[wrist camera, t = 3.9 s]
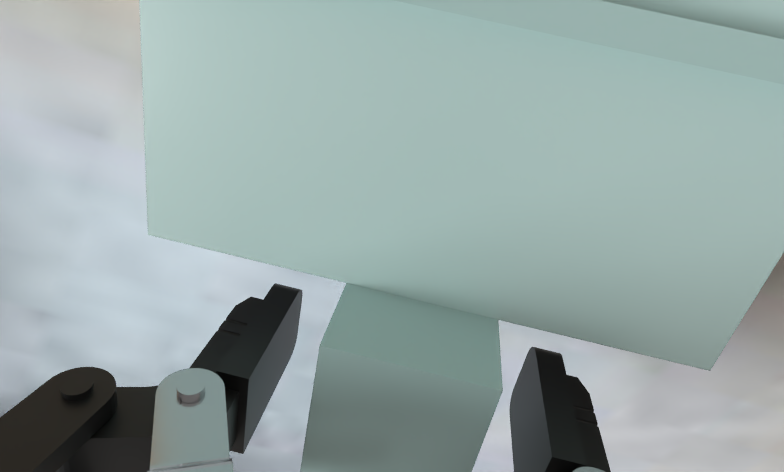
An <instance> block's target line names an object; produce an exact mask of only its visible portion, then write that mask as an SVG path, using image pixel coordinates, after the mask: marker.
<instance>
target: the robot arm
mask: <svg viewBox="0 0 784 472" xmlns="http://www.w3.org/2000/svg"><path fill="white" fill-rule="evenodd" d="M301 302H302V290H300V289H296V288H292V287H288V286H284V285H280V284H274V285H273V286H272V288H271V289H270V291H269V292H268V294H267V295H266V297H265V298H264V300H262V299H258V298H254V297H250V298H248V299H246V300H245V301H243V302H241V303H240V304H238V305H236V306H235V307H234V309H233V310H232V311H231V313H230V314H229V315H228V317H227V318H226V321H224V322H223V323H222V325H221V326H220V327H219V330H218V331H217V332H216V333H215V334H214V336H213V337H212V338H211V340H210V341H209V342H208V344H207V345H206V346H205V348H204V349H203V350H202V352H201V353H200V354H199V356H198V357H197V359H196V360H195V361H194V363H193V364H192V365H191V367H190V368H189V369H183V370H180V371H177V372H174V373H172V374H171V375H169V376H168V377H166V378H165V379H164V380H163V381H162V382H161V383H160V384H159V386H152V387H116V381H115V379H114V377H113V376H112V375H111V374H110V373H109V372H108V371H105V370H103V369H100V368H95V367H80V368H74V369H70V370H67V371H64V372H62V373H60V374H58V375H56V376H54V377H52V378H51V379H50V380H48V381H47V382H46V383H44V384H43V385H42V386H40V387H39V388H38V389H37V390H35V391H34V392H33V393H31V394H30V395H29V396H28V397H26V398H25V399H24V400H22V401H21V402H20V403H19V404H17V405H16V406H15V407H13V408H12V409H11V410H10V411H8V412H7V413H6V414H4V415H3V416H2V417H1V418H0V472H233V463H232V458H231V459H230V456H229V452H230V451H234V452H238V453H242V454H243V453H244V451H245V449H246V447H247V445H248V443H249V441H250V439H251V437H252V435H253V433H254V431H255V429H256V427H257V425H258V423H259V421H260V419H261V417H262V415H263V413H264V411H265V408H266V406H267V404H268V402H269V400H270V398H271V396H272V394H273V392H274V390H275V388H276V386H277V384H278V382H279V380H280V378H281V376H282V374H283V372H284V370H285V368H286V366H287V364H288V362H289V360H290V358H291V355H292V353H293V350H294V347H295V343H296V339H297V333H298V325H299V318H300V310H301ZM593 411H594V409H593V405H592V401H591V398H590V394H589V393H588V391H587V390H586V388H585V387H584V386H583V384H582V383H581V382H580V380H579V379H578V378H577V377H573V376H569V375H566V371H565V367H564V362H563V358H562V355H561V354H560V353H556V352H552V351H548V350H544V349H540V348H535V347H531V348H530V350H529V352H528V354H527V356H526V359H525V362H524V364H523V367H522V369H521V372H520V374H519V377H518V379H517V382H516V384H515V387H514V389H513V392H512V396H511V402H510V424H511V437H512V450H513V463H514V472H611V471H610V468H609V464H608V460H607V457H606V453H605V449H604V446H603V442H602V438H601V435H600V431H599V427H597V420H596V416H595V413H593Z"/></svg>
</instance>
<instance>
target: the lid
mask: <svg viewBox="0 0 784 472" xmlns="http://www.w3.org/2000/svg"><path fill="white" fill-rule="evenodd" d="M139 3H140V31H141V58H142V85H143V113H144V140H145V167H146V194H147V222H148V235H151V236H155V237H159V238H163V239H167V240H171V241H176V242H180V243H184V244H188V245H192V246H196V247H200V248H205V249H209V250H213V251H217V252H221V253H225V254H229V255H233V256H238V257H242V258H246V259H250V260H254V261H258V262H262V263H266V264H271V265H275V266H279V267H283V268H287V269H291V270H295V271H300V272H304V273H308V274H312V275H316V276H320V277H324V278H328V279H333V280H337V281H341V282H345V283H346V286H345V288H344V290H343V293H342V295H341V297H340V300H339V302H338V304H337V307H336V309H335V311H334V313H333V316H332V318H331V320H330V323H329V325H328V327H327V330H326V332H325V334H324V337H323V339H322V341H321V344H320V347H319V354H318V360H317V367H316V373H315V379H314V386H313V392H312V399H311V405H310V411H309V418H308V424H307V431H306V437H305V444H304V450H303V456H302V463H301V469H300V472H472V469H473V466H474V464H475V461H476V459H477V456H478V453H479V451H480V448H481V446H482V443H483V440H484V438H485V435H486V433H487V430H488V427H489V425H490V422H491V420H492V417H493V415H494V412H495V409H496V407H497V404H498V402H499V399H500V396H501V394H502V391H503V388H502V372H501V356H500V340H499V324H498V320H502V321H506V322H510V323H514V324H519V325H523V326H527V327H531V328H535V329H539V330H543V331H547V332H552V333H556V334H560V335H564V336H568V337H572V338H576V339H581V340H585V341H589V342H593V343H597V344H601V345H605V346H609V347H614V348H618V349H622V350H626V351H630V352H634V353H638V354H642V355H647V356H651V357H655V358H659V359H663V360H667V361H671V362H676V363H680V364H684V365H688V366H692V367H696V368H700V369H704V370H709V371H710V370H711V368H712V367H713V365H714V364H715V362H716V360H717V359H718V357H719V355H720V354H721V352H722V351H723V349H724V347H725V346H726V344H727V343H728V341H729V339H730V338H731V336H732V335H733V333H734V331H735V330H736V328H737V327H738V325H739V323H740V322H741V320H742V319H743V317H744V315H745V314H746V312H747V310H748V309H749V307H750V306H751V304H752V302H753V301H754V299H755V298H756V296H757V294H758V293H759V291H760V290H761V288H762V286H763V285H764V283H765V282H766V280H767V278H768V277H769V275H770V273H771V272H772V270H773V269H774V267H775V265H776V264H777V262H778V261H779V259H780V257H781V256H782V254H783V253H784V0H139Z"/></svg>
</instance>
